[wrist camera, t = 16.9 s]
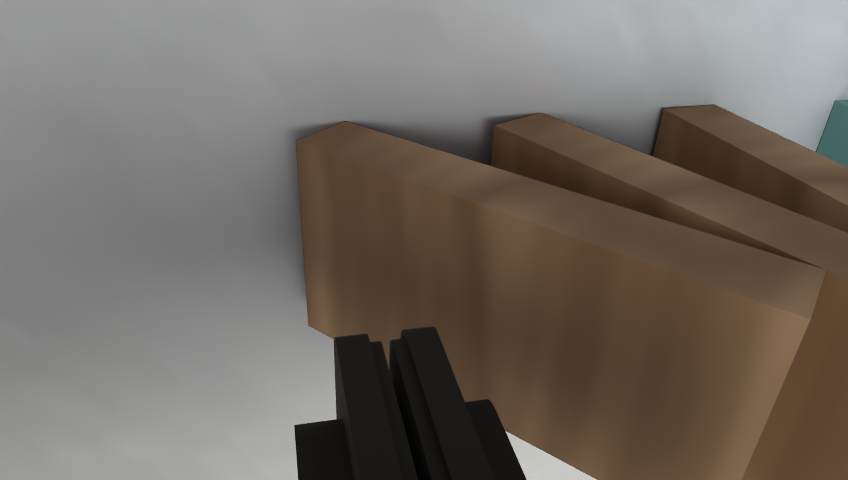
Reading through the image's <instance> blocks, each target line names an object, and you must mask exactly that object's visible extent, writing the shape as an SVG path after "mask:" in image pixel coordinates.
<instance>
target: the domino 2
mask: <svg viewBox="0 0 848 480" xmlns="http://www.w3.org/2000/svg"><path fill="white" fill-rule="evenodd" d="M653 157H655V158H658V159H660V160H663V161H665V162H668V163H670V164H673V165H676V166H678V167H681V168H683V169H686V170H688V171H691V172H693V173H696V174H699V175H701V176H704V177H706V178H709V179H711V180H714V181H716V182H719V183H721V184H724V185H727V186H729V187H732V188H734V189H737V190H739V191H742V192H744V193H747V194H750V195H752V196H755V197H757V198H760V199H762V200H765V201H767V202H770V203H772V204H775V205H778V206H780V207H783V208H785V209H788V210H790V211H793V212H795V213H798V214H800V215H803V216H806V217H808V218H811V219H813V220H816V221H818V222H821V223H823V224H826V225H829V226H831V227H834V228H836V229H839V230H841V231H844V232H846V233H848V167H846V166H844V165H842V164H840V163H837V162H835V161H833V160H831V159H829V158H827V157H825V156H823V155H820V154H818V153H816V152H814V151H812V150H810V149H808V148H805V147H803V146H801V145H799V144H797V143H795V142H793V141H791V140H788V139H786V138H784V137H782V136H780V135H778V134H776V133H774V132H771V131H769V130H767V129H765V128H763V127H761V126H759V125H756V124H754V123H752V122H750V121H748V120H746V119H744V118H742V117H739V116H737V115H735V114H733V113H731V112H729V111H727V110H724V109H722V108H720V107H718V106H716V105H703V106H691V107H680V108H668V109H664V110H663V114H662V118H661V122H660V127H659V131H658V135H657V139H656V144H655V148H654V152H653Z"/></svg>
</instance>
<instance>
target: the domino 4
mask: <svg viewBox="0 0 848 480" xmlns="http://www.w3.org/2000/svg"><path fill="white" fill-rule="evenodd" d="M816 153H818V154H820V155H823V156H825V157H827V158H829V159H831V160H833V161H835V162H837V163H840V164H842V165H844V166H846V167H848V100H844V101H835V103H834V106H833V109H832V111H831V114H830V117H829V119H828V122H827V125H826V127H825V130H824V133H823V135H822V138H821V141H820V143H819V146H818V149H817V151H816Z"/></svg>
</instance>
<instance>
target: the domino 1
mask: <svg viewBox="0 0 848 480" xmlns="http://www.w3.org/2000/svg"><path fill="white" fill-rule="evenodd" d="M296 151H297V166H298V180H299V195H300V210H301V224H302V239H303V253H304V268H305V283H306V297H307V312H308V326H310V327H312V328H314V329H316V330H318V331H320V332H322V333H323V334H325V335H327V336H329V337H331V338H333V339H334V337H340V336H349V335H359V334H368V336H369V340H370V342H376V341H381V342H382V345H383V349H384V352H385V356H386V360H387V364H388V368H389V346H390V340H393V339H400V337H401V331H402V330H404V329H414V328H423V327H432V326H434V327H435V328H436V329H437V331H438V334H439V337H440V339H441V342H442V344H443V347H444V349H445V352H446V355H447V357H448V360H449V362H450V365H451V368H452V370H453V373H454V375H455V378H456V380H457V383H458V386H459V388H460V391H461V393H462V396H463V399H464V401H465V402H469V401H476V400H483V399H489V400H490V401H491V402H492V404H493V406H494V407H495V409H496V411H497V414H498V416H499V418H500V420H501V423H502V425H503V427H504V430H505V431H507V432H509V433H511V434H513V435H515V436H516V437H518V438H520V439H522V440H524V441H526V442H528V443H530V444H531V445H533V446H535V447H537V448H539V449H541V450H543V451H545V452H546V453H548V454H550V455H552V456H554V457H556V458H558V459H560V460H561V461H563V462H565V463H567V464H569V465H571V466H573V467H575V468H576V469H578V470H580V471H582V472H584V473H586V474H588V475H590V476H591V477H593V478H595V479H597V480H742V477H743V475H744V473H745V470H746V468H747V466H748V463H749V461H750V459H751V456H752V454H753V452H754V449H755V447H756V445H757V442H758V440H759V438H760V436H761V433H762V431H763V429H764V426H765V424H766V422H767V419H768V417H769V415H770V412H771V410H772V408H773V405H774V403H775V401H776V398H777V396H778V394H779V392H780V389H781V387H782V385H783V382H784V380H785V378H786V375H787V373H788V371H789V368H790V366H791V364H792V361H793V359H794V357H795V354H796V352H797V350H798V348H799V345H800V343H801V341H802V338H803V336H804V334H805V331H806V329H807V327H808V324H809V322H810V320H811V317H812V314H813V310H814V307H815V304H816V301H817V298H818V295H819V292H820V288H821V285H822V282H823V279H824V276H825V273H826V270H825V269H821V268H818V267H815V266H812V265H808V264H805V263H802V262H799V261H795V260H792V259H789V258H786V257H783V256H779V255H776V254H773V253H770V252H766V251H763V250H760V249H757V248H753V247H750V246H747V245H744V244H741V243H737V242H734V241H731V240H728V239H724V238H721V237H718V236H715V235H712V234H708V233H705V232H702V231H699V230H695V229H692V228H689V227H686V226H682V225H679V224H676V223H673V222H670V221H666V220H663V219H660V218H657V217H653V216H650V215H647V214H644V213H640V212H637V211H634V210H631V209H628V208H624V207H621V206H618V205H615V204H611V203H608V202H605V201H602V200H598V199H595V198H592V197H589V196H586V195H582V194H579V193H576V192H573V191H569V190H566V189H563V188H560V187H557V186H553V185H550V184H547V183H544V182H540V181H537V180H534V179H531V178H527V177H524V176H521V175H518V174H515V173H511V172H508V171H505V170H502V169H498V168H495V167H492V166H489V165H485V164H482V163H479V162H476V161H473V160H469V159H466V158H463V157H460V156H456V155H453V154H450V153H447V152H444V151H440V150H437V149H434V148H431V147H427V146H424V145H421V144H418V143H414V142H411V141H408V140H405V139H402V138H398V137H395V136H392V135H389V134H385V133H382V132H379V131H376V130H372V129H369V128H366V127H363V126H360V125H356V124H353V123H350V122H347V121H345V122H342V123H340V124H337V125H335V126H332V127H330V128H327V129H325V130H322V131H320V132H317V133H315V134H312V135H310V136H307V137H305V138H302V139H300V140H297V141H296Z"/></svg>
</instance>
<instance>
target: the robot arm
mask: <svg viewBox="0 0 848 480" xmlns="http://www.w3.org/2000/svg"><path fill="white" fill-rule="evenodd" d="M334 358H335V385H336V413H337V420H329V421H322V422H314V423H307V424H300V425H294V426H295V440H296V454H297V468H298V480H526V478H525V475H524V473H523V471H522V468H521V466H520V464H519V462H518V459H517V457H516V455H515V452H514V450H513V448H512V446H511V443H510V441H509V439H508V436H507V434H506V432H505V430H504V427H503V425H502V423H501V420H500V418H499V416H498V414H497V411H496V409H495V407H494V406H493V404H492V402H491V401H490V400H489V399H483V400H476V401H469V402H465V401H464V399H463V396H462V393H461V391H460V388H459V386H458V383H457V380H456V378H455V375H454V373H453V370H452V368H451V365H450V362H449V360H448V357H447V355H446V352H445V349H444V347H443V344H442V342H441V339H440V337H439V334H438V331H437V329H436V328H435V327H434V326H432V327H423V328H414V329H404V330H402V331H401V337H400V339H393V340H390V346H389V368H388V364H387V360H386V356H385V352H384V349H383V345H382V342H381V341H376V342H370V340H369V336H368V334H359V335H349V336H340V337H334Z"/></svg>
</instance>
